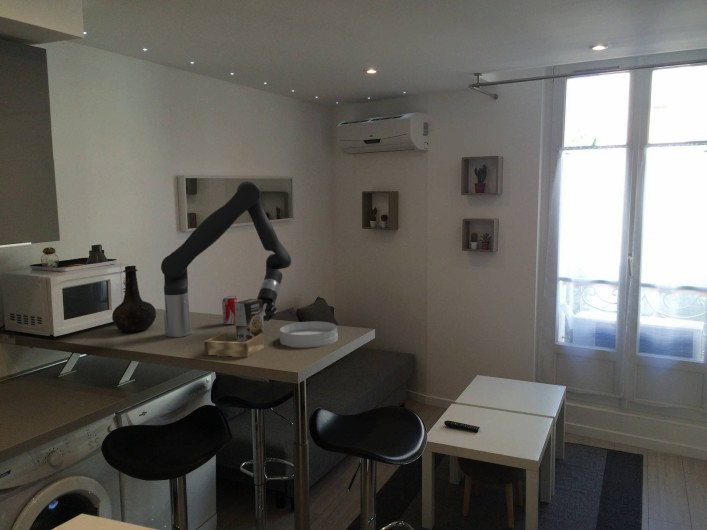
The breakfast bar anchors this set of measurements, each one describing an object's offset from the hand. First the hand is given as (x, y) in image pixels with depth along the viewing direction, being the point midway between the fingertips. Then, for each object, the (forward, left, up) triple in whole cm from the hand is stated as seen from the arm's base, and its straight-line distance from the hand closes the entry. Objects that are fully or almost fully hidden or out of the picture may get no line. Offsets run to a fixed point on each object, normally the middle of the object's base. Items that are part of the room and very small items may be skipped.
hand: (257, 328), depth 217 cm
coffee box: (0, -6, -4) cm, 7 cm away
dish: (+21, +1, -4) cm, 22 cm away
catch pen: (0, -18, -4) cm, 18 cm away
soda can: (-24, +23, -4) cm, 33 cm away
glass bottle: (-61, +6, -4) cm, 61 cm away
